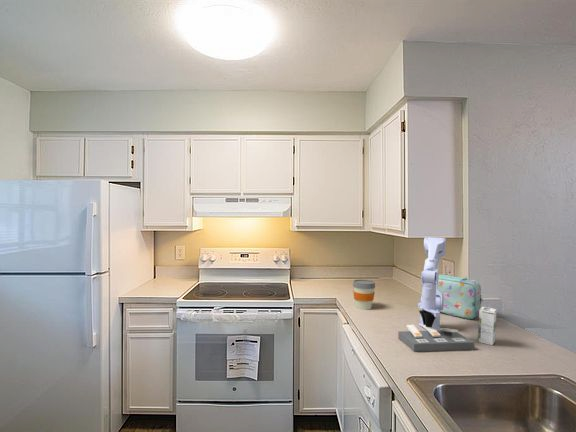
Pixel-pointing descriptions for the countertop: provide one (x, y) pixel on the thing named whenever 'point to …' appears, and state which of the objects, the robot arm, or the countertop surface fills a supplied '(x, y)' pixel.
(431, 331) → the rocker middle
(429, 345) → the power strip
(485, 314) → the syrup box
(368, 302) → the reusable coffee cup
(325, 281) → the countertop surface
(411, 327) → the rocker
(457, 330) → the rocker
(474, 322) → the countertop surface
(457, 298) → the lunch box
